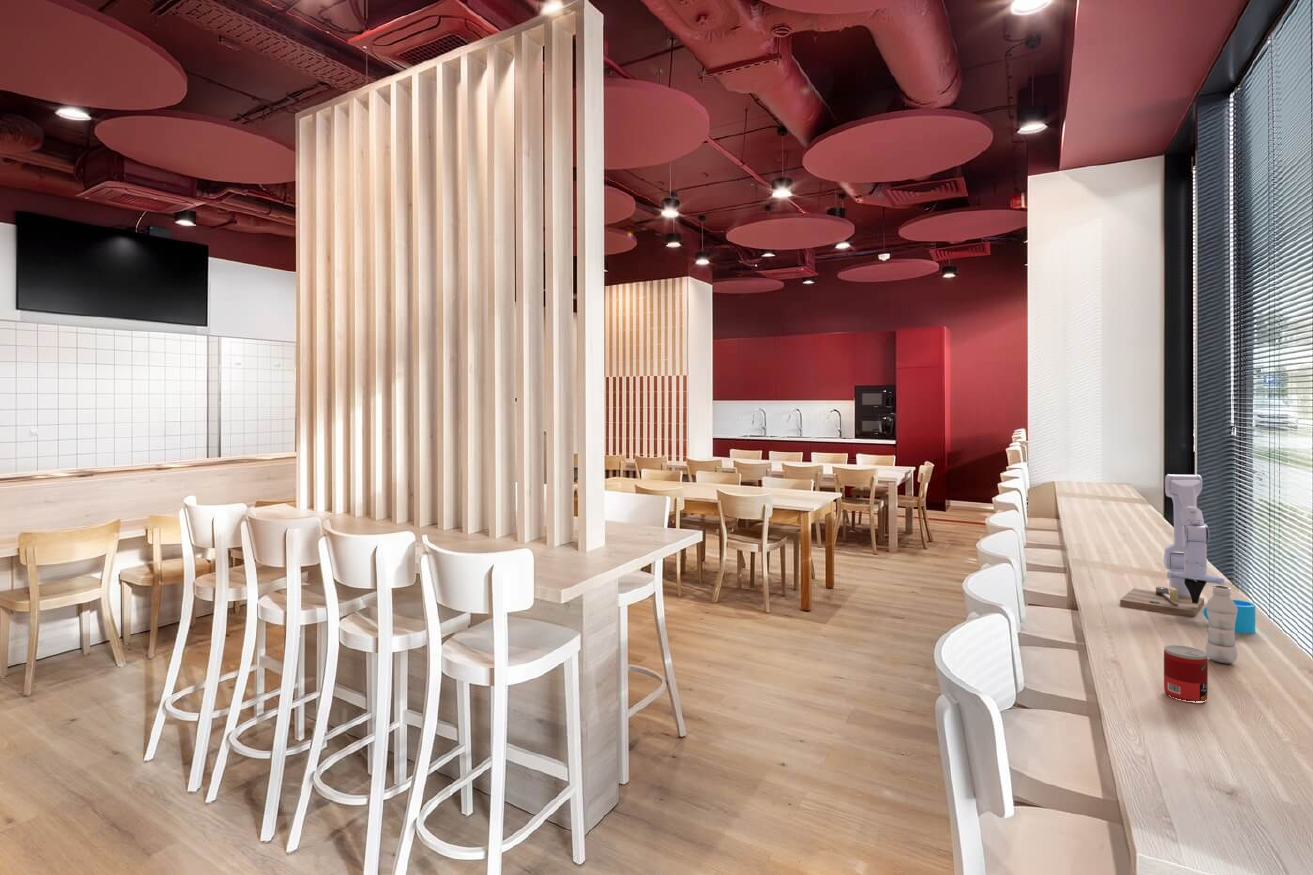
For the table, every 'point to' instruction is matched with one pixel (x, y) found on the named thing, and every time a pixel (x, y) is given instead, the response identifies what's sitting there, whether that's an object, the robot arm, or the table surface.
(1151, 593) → the hole plate
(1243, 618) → the mug
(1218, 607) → the plastic bottle
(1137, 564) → the table surface
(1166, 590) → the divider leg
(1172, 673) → the canned food
